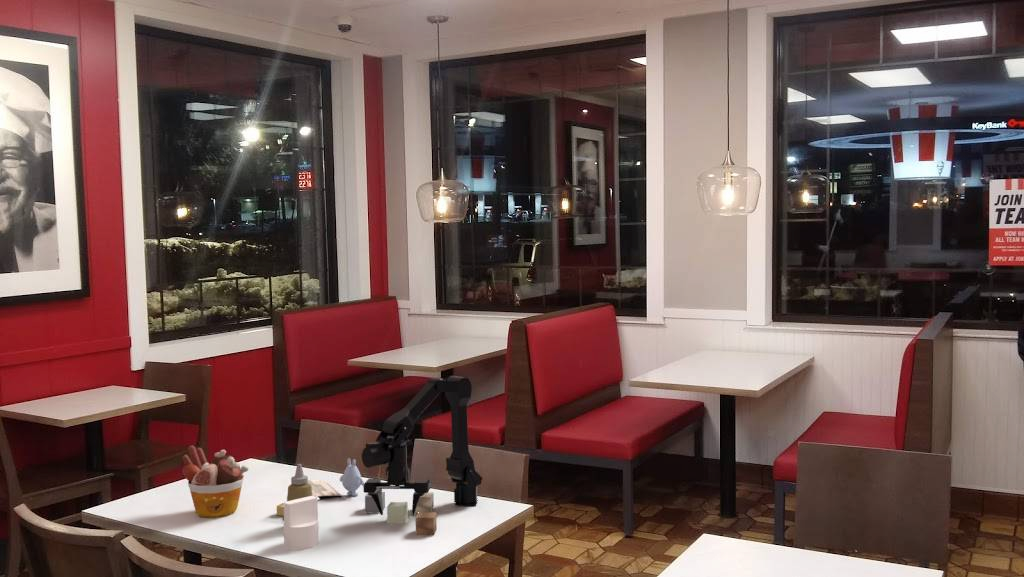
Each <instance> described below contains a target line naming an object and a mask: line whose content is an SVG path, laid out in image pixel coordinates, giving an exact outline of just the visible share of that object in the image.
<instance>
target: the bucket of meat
mask: <svg viewBox="0 0 1024 577" xmlns="http://www.w3.org/2000/svg"><path fill="white" fill-rule="evenodd" d="M187 451H188V452H189V453H188V454H189V455H188V454H184V455H182V459H181V460H182V462H183V463H184V466H183V468H182V469H181V470H182V471H181V472H182V474H183V476H184V477H185V479H186V480H187V482H188V483H187V484H188V487H189V492H190V496H191V498H192V503H193V507H194V510H195V514H196V515H197V516H198V517H201V518H206V519H209V518H210V519H217V518H223V517H227V516H230V515H232V514H234V513H235V512H236V511H237V509H238V508H239V502H240V498H241V490H242V486H243V482H244V479H245V478H244V477H245V475H243V474H244V473H246V472H248V471H249V467H248V466H246V465H245V464H244V465H242V466H241V467H240V465H241V464H240V463H239V462H237V461H235V458H234V457H233V455H226V453H227V451H226V450H225V449H221V450H220V451H219V452H218V451H217V452H215V453H214V456H213V457H215V458H213V459H211V461H210V462H208V460H207V458H206V455H205V452H204V450H203V448H202V447H197V448H196V447H195V446H194V445H193V444H192V445H189V446H188V450H187Z"/></svg>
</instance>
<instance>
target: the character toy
mask: <svg viewBox="0 0 1024 577" xmlns="http://www.w3.org/2000/svg"><path fill="white" fill-rule="evenodd" d="M276 515H277V516H282V517H284V502H281V503H279V504H277V505H276Z"/></svg>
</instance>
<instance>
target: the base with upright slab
mask: <svg viewBox="0 0 1024 577" xmlns="http://www.w3.org/2000/svg"><path fill="white" fill-rule="evenodd" d="M283 503H284V516H283V521H284V522H283V541H284V542H283V544H284V545H283V546H284V548H286V549H288V550H293V551H294V550H295V551H299V550H307V549H312V548H315V547H316V546H318V545H319V540H320V538H319V535H320V534H319V516H318V515H319V512H318V507H319V506H318V500H317V497H315V496H309V497H304V498H300V499H295V500H291V501H287V500H286V501H284V502H283Z"/></svg>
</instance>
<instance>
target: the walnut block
mask: <svg viewBox="0 0 1024 577" xmlns="http://www.w3.org/2000/svg"><path fill="white" fill-rule="evenodd" d="M416 514H417V515H416V516H415V536H435V534H436V531H437V528H438V527H437V526H438V525H437V512H434V511H432V512H419V513H416Z"/></svg>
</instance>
